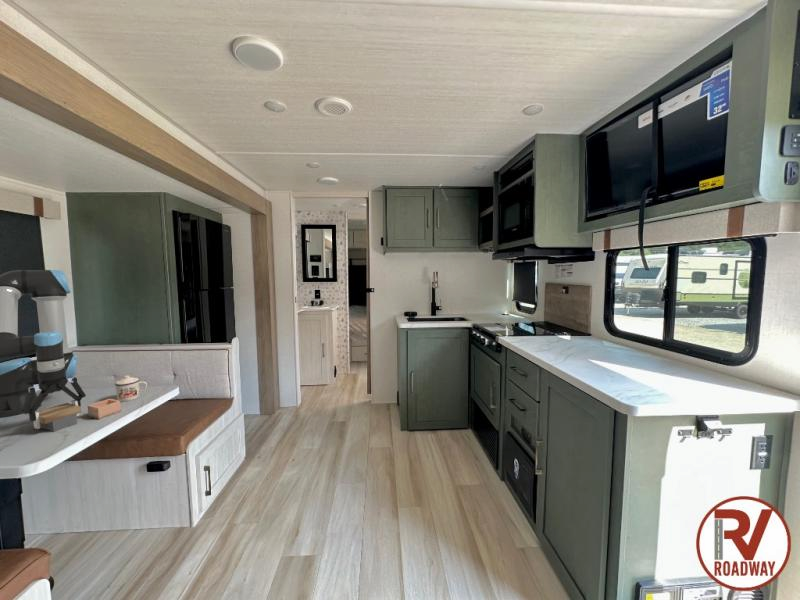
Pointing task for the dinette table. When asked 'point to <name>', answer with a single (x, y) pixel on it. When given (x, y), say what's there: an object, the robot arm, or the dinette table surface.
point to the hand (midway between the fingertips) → (57, 421)
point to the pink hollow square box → (104, 408)
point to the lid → (58, 412)
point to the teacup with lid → (128, 388)
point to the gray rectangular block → (60, 423)
